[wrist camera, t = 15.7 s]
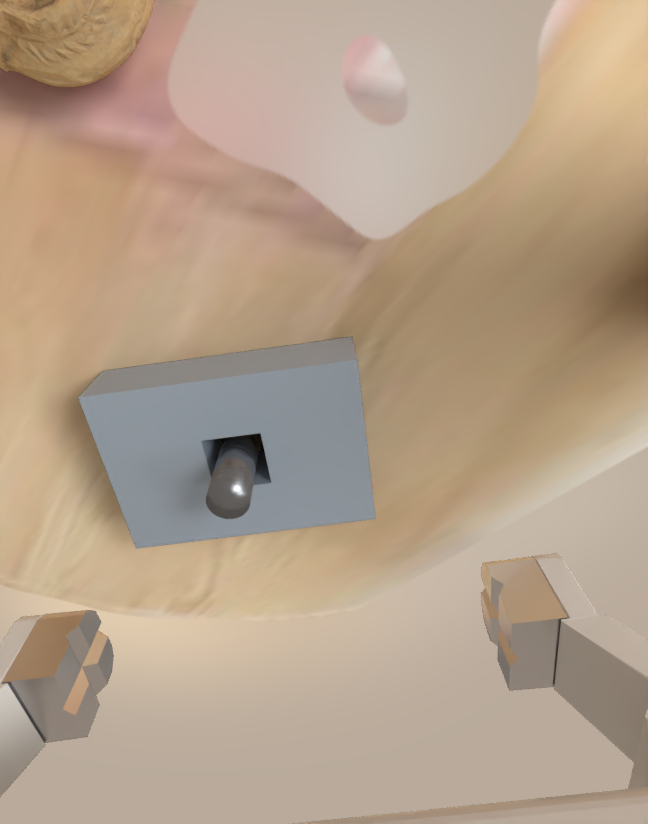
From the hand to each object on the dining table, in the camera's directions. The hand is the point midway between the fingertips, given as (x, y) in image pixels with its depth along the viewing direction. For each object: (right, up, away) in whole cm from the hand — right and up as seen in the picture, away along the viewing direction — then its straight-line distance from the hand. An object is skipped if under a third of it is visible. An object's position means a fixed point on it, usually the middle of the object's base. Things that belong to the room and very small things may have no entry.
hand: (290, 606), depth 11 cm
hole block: (-6, +2, +33) cm, 34 cm away
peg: (-6, +2, +33) cm, 34 cm away
